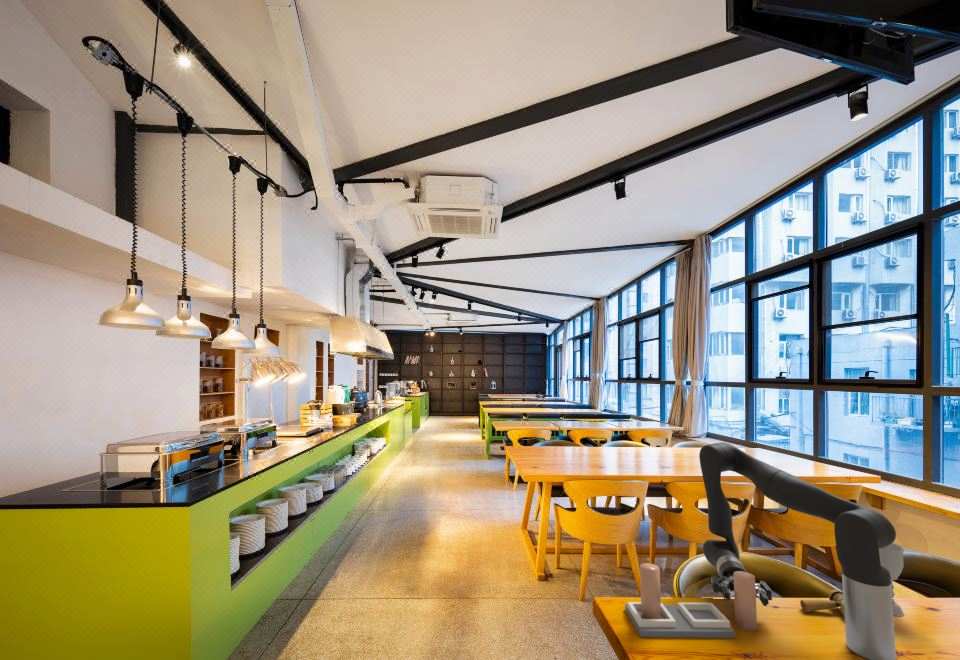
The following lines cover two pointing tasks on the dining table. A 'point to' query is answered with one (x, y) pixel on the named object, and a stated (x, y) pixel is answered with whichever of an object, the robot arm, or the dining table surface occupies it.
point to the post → (745, 601)
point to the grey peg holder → (673, 613)
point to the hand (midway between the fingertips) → (746, 599)
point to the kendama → (825, 602)
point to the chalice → (893, 568)
